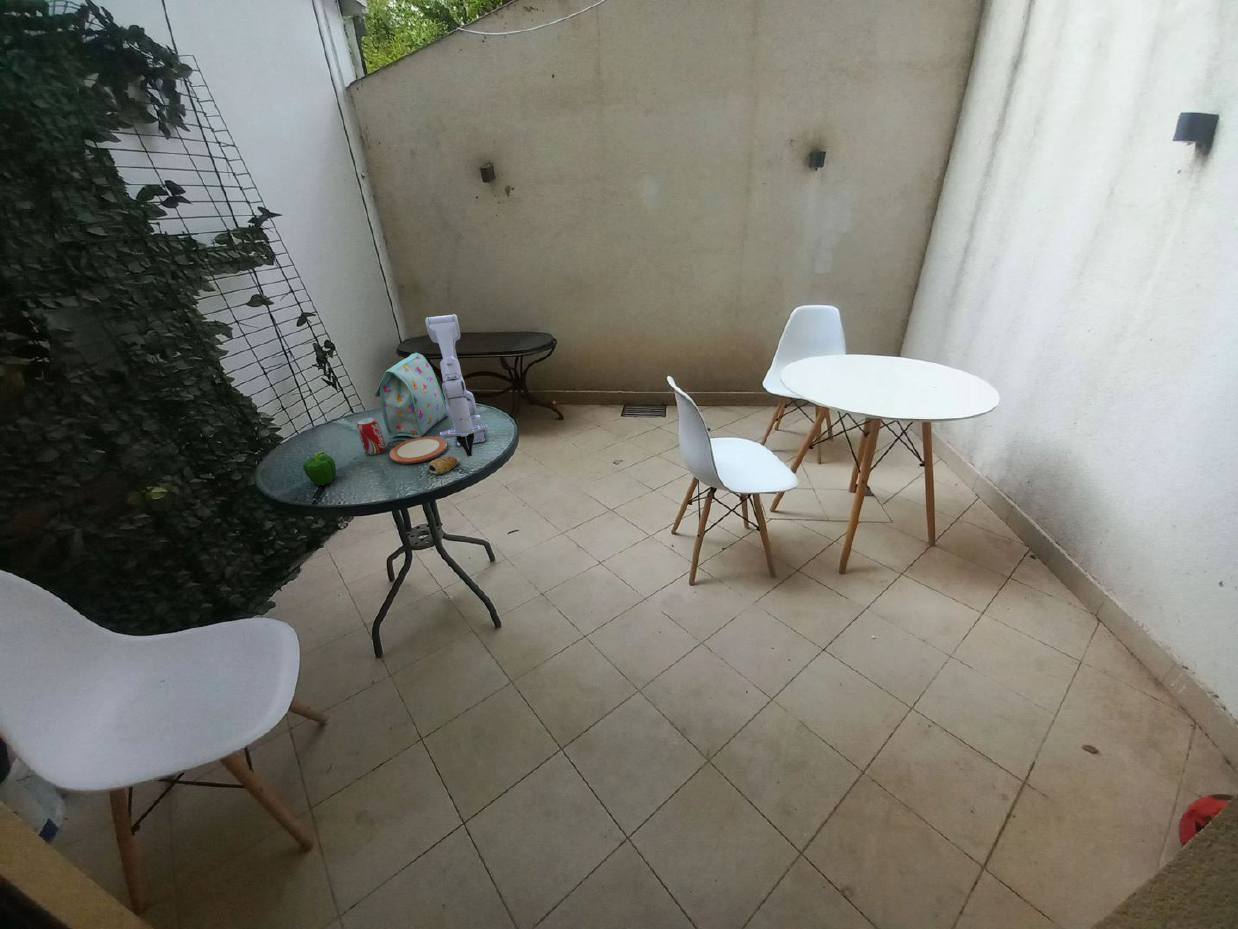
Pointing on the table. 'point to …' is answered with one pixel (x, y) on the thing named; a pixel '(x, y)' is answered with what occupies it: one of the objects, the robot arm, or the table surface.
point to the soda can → (370, 435)
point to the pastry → (442, 465)
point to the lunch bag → (411, 398)
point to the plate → (418, 450)
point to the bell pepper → (320, 469)
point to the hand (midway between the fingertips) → (469, 455)
